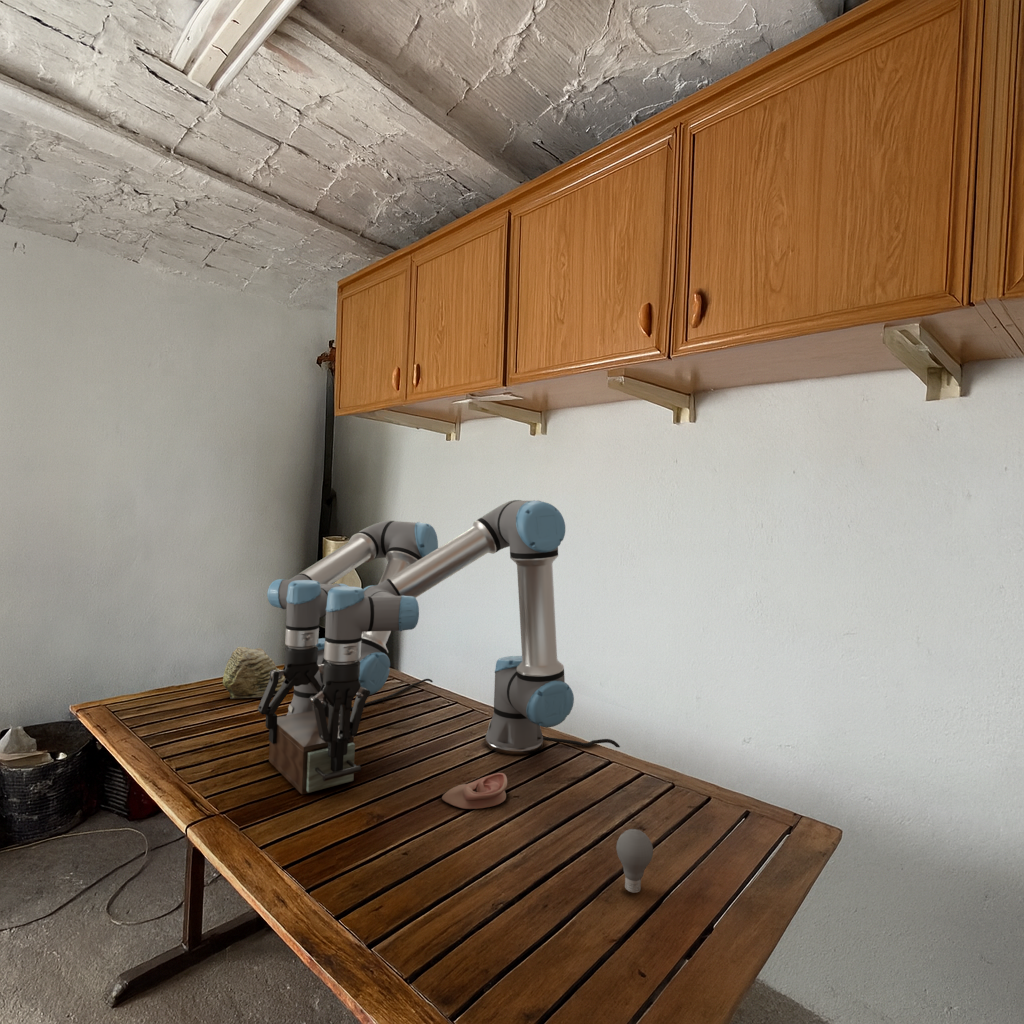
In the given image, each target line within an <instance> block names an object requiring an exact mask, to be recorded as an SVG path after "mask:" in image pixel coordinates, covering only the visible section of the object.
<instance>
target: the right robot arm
mask: <svg viewBox="0 0 1024 1024" xmlns="http://www.w3.org/2000/svg"><path fill="white" fill-rule="evenodd" d="M565 535H566V522H565V519H564V516H563V515H562V513H561V512H560V510H559V509H557V507H556V506H554V505H553V504H551V503H548V502H546V501H542V500H535V499H534V500H521V499H514V500H509V501H507V502H504V503H502V504H501V505H499V506H497V507H496V508H494V509H492V510H490V511H489V512H487V513H486V514H484V515H483V516H481V517H479V518H478V519H476V520H475V521H473V523H472V527H471V528H469V529H467V530H466V531H464V532H462V533H461V534H459V535H457V536H456V537H454V538H452V539H451V540H449V541H447V542H446V543H444V544H442V545H440V546H438V549H436V550H434V551H433V552H431V553H429V554H428V555H426V556H424V557H423V558H421V559H420V560H418V561H416V562H415V563H413V564H411V565H410V566H408V567H406V568H405V569H403V570H401V571H400V572H398V573H396V574H395V575H393V576H392V577H390V578H388V579H387V580H385V581H383V582H381V583H380V584H379V583H378V584H374V585H373V584H371V585H367V586H365V587H364V588H362V587H360V586H349V585H348V586H339V587H333V588H331V589H330V590H329V592H328V598H327V606H326V616H325V626H324V627H325V629H324V631H325V633H324V638H325V646H324V659H325V660H326V661H325V662H324V666H323V684H322V686H321V689H320V692H319V693H318V694H316V695H315V696H310V698H309V700H310V702H311V703H312V705H313V706H314V711H315V716H316V721H317V726H318V732H319V737H320V738H321V739H322V740H324V741H325V742H328V756H329V757H330V758H331V770H332V771H333V772H335V771H339V770H343V757H344V755H346V754H347V749H348V748H347V747H348V742H349V741H350V740H351V738H350V737H352V736H354V737H356V736H357V735H358V732H359V728H360V724H361V721H362V716H363V713H364V708H365V706H364V705H365V703H366V702H367V700H368V698H369V697H370V696H371V695H370V691H369V690H367V689H365V688H362V687H361V684H360V682H359V677H360V662H359V659H360V657H361V638H362V632H370V631H391V632H398V631H399V632H402V631H410V630H414V629H416V627H417V626H418V623H419V619H420V607H419V606H420V605H419V602H418V600H417V598H418V597H420V596H422V595H423V594H424V593H426V592H428V591H430V590H431V589H433V588H434V587H436V586H437V585H439V584H440V583H442V582H443V581H445V580H447V579H448V578H450V577H452V576H453V575H455V574H457V573H458V572H460V571H461V570H463V569H465V568H466V567H467V566H469V565H471V564H473V563H475V562H476V561H478V560H479V559H480V558H482V557H483V556H485V555H487V554H496V553H498V552H500V551H501V550H503V549H505V548H509V557H510V560H511V561H512V562H514V563H515V564H516V572H517V589H518V591H517V593H518V607H519V609H518V611H519V625H520V643H521V644H520V645H521V655H512V656H511V655H510V656H509V655H507V656H502V657H499V658H498V659H497V660H496V661H495V669H494V691H493V692H494V693H493V713H492V716H491V719H490V721H489V723H488V728H487V731H486V733H485V745H486V747H487V748H488V749H490V750H492V751H494V752H496V753H500V754H505V755H511V756H516V755H517V756H521V755H522V756H523V755H531V754H534V753H537V752H539V751H540V750H541V749H542V748H543V747H544V742H545V741H546V742H552V743H553V742H554V743H559V744H569V745H575V746H580V747H583V748H590V747H592V746H593V745H597V744H598V745H599V744H611V745H612V746H614V747H615V748H621V745H620V744H619V743H618V742H617V741H615V740H613V739H610V738H601V739H593V740H590V741H588V742H582V741H578V740H573V739H565V738H557V737H550V736H544V735H543V731H542V728H553V727H556V726H558V725H561V724H562V723H563V722H564V721H565V720H566V718H567V717H568V716H569V715H570V714H571V712H572V710H573V707H574V703H575V696H574V691H573V690H572V688H571V686H570V685H569V684H568V683H567V682H566V678H565V677H566V676H565V666H564V664H563V663H562V662H561V661H560V660H559V659H558V648H557V628H556V627H557V626H556V625H557V624H556V607H555V589H554V586H555V585H554V569H553V563H554V561H556V559H557V558H558V557H559V547H560V545H561V543H562V542H563V541H564V538H565ZM323 697H325V699H326V700H327V701H328V707H329V717H328V727H327V721H326V716H325V711H324V707H323V705H322V704H323V703H324V700H323ZM353 700H354V702H353ZM352 707H353V709H352V710H351V708H352ZM339 711H340V725H339V737H340V738H338V723H339ZM541 727H542V728H541Z"/></svg>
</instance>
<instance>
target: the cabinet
mask: <svg viewBox="0 0 1024 1024" xmlns="http://www.w3.org/2000/svg"><path fill="white" fill-rule="evenodd" d="M326 721H327V727H328V717H326ZM354 737H355V736H352V737H350V738H351V740H350V741H349V742H348V743H352V742H353V743H354V744H355V742H354V739H355V738H354ZM338 738H340V737H339V725H338ZM268 745H269V747H268V762H270V764H271V765H272V766H273V767H274V768H275V770H277V772H278V773H280V774H281V776H283V777H284V778H285V779H286V780H287V782H288V783H290V785H292V786H293V788H295V789H296V791H298V793H300V794H301V795H302V796H303V795H306V794H311V793H314V792H315V791H313V792H309V793H308V792H307V791H306V787H307V762H308V751H310V750H314V749H319V748H323V747H328V742H325V741H324V740H322V739H321V738H320V737H319V732H318V726H317V721H316V716H315V711H314V710H313V711H308V712H302V713H297V714H292V715H287V714H286V715H282V716H277V734H276V743H275V744H272V743H271V742H270V741H269V744H268ZM351 782H352V781H350V782H347V783H351ZM347 783H346V784H347ZM344 784H345V783H343V784H342V785H344ZM339 785H340V786H341V784H339ZM339 785H335V786H332V787H336V786H339ZM332 787H331V788H332ZM329 788H330V787H328V788H327V789H329ZM321 790H326V788H324V789H320V790H317V791H316V792H318V791H321Z"/></svg>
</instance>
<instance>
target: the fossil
mask: <svg viewBox="0 0 1024 1024" xmlns="http://www.w3.org/2000/svg"><path fill="white" fill-rule="evenodd" d="M273 669H274V670H276V671H277V670H280V669H279V668H278V667H277V665H276V663H275V662H274V660H273V659H272V658H271V657H270V656H269V655H268V654H267V653H266V652H265V650H264V649H263V648H260V647H258V648H251V647H247V646H246V647H245V646H238V647H237V648H236V649H235V650H233V651H232V653H231V656H230V657H229V659H228V660H227V663H226V666H225V668H224V671H223V675H222V676H223V677H222V685H223V687H224V688H225V690H226V691H228V693H229V698H230V699H250V698H262V697H263V694H264V692H265V690H266V687H267V685H268V682H269V680H270V671H271V670H273ZM284 680H285V676H284V675H282V676H281V679H280V680H278V684H277V687H276V689H275V692H274V694H273V696H275V695H276V693H277V692H278V690H279V689H280V687H281V686H282V683H283V681H284Z"/></svg>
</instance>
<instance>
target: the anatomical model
mask: <svg viewBox="0 0 1024 1024" xmlns="http://www.w3.org/2000/svg"><path fill="white" fill-rule="evenodd" d="M507 786H508V778H507V775H506V774H505V773H503V772H496V773H492V774H488V775H485V776H484V777H481V778H478V779H476V780H474V781H471V782H468V783H462V784H459V785H455V786H454V787H452V788H450V789H449V790H447V791H446V792H445V793H444V794H443V795H442V796H441V799H442V801H443V802H445V803H446V804H449V805H450V806H454V807H456V808H460V809H464V810H476V809H485V808H490V807H495V806H498V805H500V804H502V803H504V802H505V801H506V799H507V794H506V789H507Z"/></svg>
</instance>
